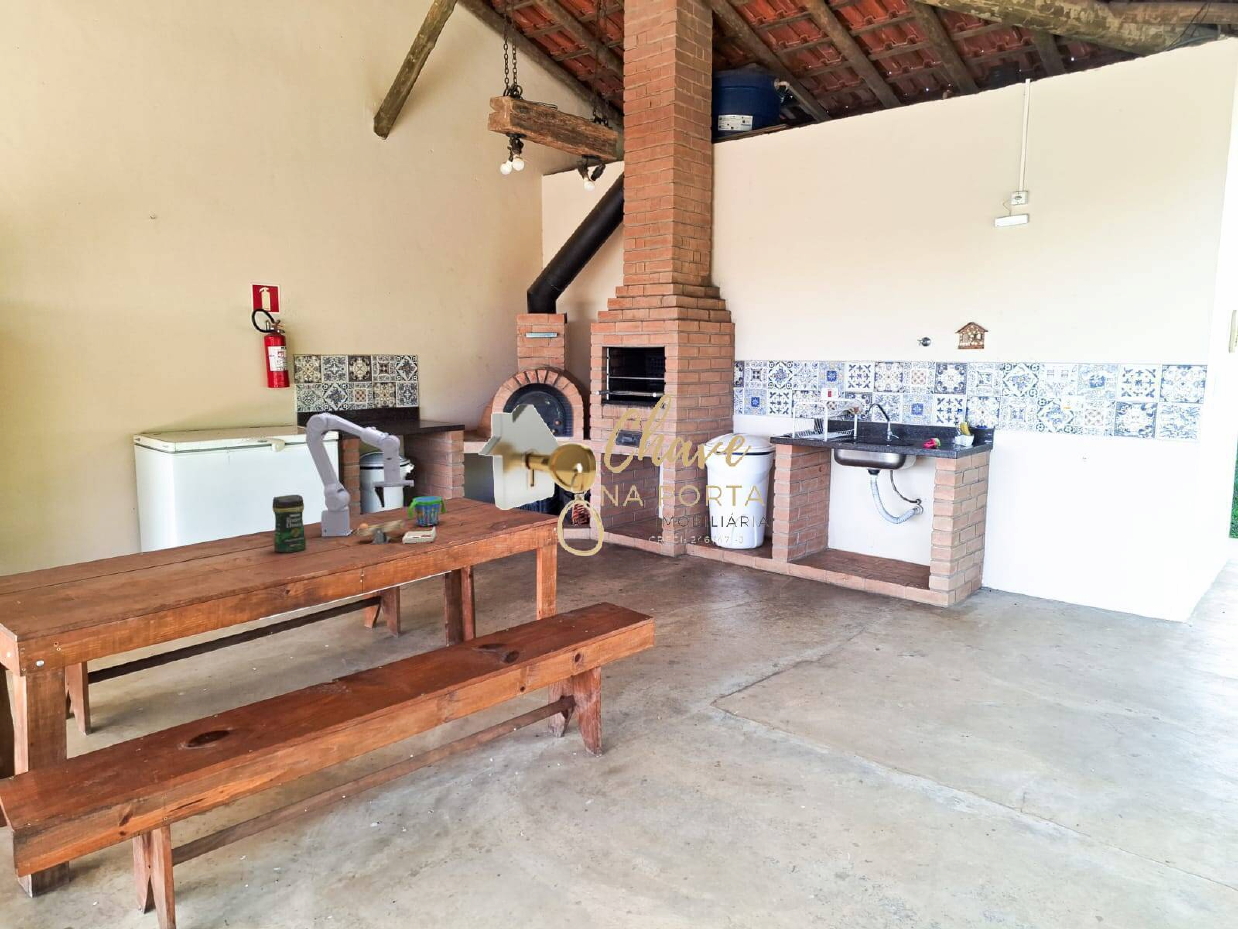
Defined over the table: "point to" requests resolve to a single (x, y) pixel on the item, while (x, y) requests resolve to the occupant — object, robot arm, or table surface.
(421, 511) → the snack cup
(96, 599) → the table surface
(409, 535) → the dish
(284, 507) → the coffee jar
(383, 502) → the robot arm
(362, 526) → the ball
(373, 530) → the lever
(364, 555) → the table surface
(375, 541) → the stand
